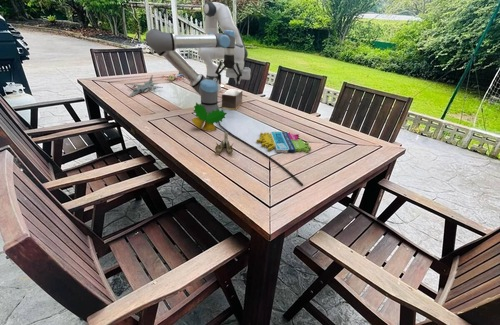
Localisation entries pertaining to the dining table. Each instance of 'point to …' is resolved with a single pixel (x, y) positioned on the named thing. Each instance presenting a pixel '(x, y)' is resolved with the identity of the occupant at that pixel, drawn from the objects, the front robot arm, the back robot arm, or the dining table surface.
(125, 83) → the dining table surface
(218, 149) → the jawbone
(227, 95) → the brown-grey rectangular block
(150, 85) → the airplane
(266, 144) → the multicolored flat piece
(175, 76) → the toy
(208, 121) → the ornament
